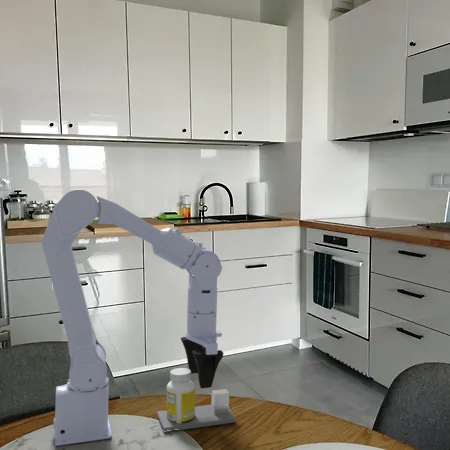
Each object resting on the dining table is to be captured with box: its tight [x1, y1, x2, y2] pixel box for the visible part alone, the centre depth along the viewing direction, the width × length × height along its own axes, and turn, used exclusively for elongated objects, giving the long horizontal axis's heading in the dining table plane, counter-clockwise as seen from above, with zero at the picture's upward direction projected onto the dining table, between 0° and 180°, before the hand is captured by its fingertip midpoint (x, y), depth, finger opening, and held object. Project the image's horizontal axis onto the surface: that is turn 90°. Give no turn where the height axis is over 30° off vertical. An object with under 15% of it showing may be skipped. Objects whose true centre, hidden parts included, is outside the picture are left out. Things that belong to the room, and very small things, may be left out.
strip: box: [156, 388, 237, 432], centre depth 88 cm, size 14×7×5 cm, turn 109°
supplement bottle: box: [166, 367, 196, 423], centre depth 87 cm, size 5×5×10 cm
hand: (200, 379), depth 88 cm, fingers open, 7 cm apart
